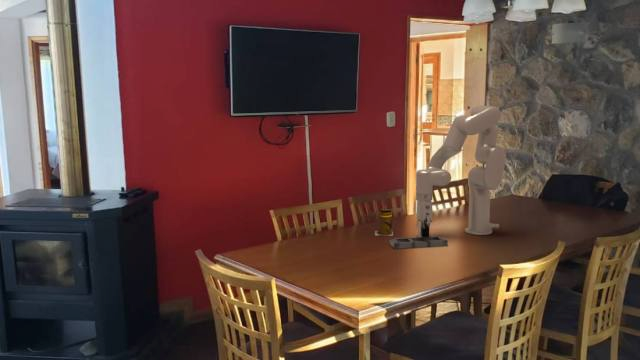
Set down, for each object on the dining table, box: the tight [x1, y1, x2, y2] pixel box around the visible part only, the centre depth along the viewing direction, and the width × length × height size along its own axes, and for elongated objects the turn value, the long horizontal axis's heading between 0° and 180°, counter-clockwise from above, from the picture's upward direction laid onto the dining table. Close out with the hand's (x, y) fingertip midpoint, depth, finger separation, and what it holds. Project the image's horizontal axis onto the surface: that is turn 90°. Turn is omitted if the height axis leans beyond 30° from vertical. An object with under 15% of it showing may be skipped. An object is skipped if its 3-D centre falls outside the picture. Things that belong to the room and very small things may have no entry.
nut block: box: [417, 219, 427, 237], centre depth 262 cm, size 4×4×8 cm
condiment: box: [374, 208, 394, 237], centre depth 270 cm, size 7×8×12 cm
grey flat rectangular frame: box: [389, 235, 448, 250], centre depth 251 cm, size 24×8×2 cm, turn 98°
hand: (423, 234), depth 262 cm, fingers open, 5 cm apart
